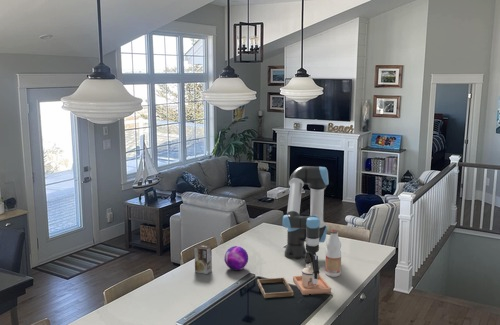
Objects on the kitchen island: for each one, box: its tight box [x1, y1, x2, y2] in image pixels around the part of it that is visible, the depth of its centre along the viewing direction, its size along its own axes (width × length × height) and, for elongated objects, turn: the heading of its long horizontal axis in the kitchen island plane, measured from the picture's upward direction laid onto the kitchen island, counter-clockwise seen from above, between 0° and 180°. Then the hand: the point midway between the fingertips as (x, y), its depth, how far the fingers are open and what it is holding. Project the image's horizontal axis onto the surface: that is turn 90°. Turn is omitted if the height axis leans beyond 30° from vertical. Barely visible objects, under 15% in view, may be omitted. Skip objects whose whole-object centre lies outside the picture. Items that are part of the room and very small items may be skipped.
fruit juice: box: [324, 229, 342, 277], centre depth 310 cm, size 9×9×28 cm
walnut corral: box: [256, 277, 294, 299], centre depth 289 cm, size 21×17×2 cm
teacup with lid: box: [301, 265, 320, 288], centre depth 293 cm, size 12×9×12 cm
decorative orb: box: [224, 245, 249, 271], centre depth 318 cm, size 15×15×15 cm
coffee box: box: [193, 244, 213, 275], centre depth 314 cm, size 9×6×16 cm
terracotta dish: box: [292, 274, 332, 296], centre depth 293 cm, size 21×17×3 cm
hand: (311, 279), depth 292 cm, fingers open, 13 cm apart
